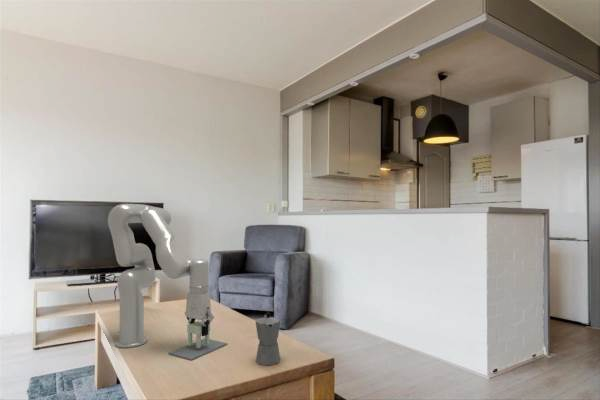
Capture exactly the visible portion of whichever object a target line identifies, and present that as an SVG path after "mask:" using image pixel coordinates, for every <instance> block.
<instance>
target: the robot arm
mask: <svg viewBox="0 0 600 400" xmlns="http://www.w3.org/2000/svg"><path fill="white" fill-rule="evenodd" d="M171 221H172V217H171V213H170V212H169V211H168V210H167V209H165V208H162V207H158V206H151V205H148V204H142V203H141V204H140V203H139V204H138V203H121V204H120V203H119V204H117V205H116V206H114V207H113V208H111V210H110V211H109V213H108V216H107V225H108V228H109V231H110V233H111V239H112V243H113V248H114V254H115V259H116V262H117V264H118V265H119V266H121V267H132V266H134V268H130V269H125V270H124V271H123V272H121V273H120V274H119V276H117V281H116V283H117V284H116V285H117V290H118V293H119V295H118V296H119V329H118V331H119V332H116V333H115V335H116V337H118V339H117V340H115V342H114V343H115V347H118V348H124V349H125V348H135V347H139V346H142V345H144V344H146V343H147V342H148V337H147V336H145V334H144V331H145V330H144V327H145V325H144V324H145V323H144V319H145V318H144V314H145V311H144V310H145V302H144V301H145V300H144V296H143V294H142V291H141V290H142V289H146V288H149V287H151V286H152V285H153V284H154V283H155V281H156V278H157V277H156V269H155V265H154V260H153V254H152V251H151V249H150V248H149V246H148V245H147V244H144V243H141V242H137V243H136V240H135V236H134V235H135V234H134V232H133V230H132V229H131V227H130V226H129V224H141V225H143V228H144V229H145V231H146V232H147V234H148V235H149V238H151V240H152V242H153V243H154V245H155V256H156V261H157V263H158V265H159V267H160V268H161V270H162V272H163V273H164V274H165V276H166V277H168V278H169V279H171V280H176V279H180V278H184V277H188V276H189V287H188V289H189V292H188V293H187V297H186V306H185V312H184V316H185V317H186V319H187V322H188V323H187V324H191V323H194V322H196V320H197V321H202V324H203V326H202V334H201V337H205V336H206V335H208V325H209V324H210V325H211V322H212V321H213V319H214V318H215V317H214V315H213V313H212V312H211V311H212V305H211V296H210V293H209V261H208V260H207V259H204V258H203V259H201V258H198V259H196V258H195V259H194V258H191V257H190V258H189V257H184V258H178V259H177V258H176V257H175V255H174V253H173V252H172V250H171V242H172V241H173V240H174V239H175V233H174V232H173V231H172V229H171V228H170V226H169V225H170V224H171V223H172V222H171Z"/></svg>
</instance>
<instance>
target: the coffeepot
mask: <svg viewBox="0 0 600 400" xmlns="http://www.w3.org/2000/svg"><path fill="white" fill-rule="evenodd" d="M280 326H281V319H279V318H278V317H273V316H272V317H271V312H266V313H264V314H263V317H261V318H257V319H256V321H255V327H256V334H257V339H258V341H259V342H258V344H257V345H258V346H257V351H256V359H255V362H256V364H258V365H260V366H265V367H267V366H268V367H269V366H274V365H277V364H279V363H280V361H281V354H280V348H279V344H278V338H279V333H280V332H279V331H280Z"/></svg>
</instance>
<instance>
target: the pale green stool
mask: <svg viewBox="0 0 600 400" xmlns="http://www.w3.org/2000/svg"><path fill="white" fill-rule="evenodd" d="M186 326H187V345H188V346H191V345H192V343H193V334H194V335H196V339H195V340H196V341H195V342H196V348H200V347H201V340H202V326H203V324H202V321H201V320H197V321H195V322H194V323H191V324H189V323H187V325H186ZM210 331H211V323H210V324H209V325H208V335H206V336H204V339H205V344H209V339H210Z"/></svg>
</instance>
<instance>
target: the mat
mask: <svg viewBox="0 0 600 400" xmlns="http://www.w3.org/2000/svg"><path fill="white" fill-rule="evenodd" d="M226 346H228V343H227V342H224V341H219V340H215V339H210V338H209V344H205V338H203V339H202V338H201V347H200V348H196V341H194V342H192V345H191V346H188V344H186V345H185V346H182V347H179V348H177V349H174V350H171V351H169V352H167V353H168V354H167V355H170V356H173V357H176V358H180V359H184V360H188V361H191V362H192V361H194V360H196V359H199V358H201V357H203V356H205V355H207V354H210V353H212V352H214V351H216V350H219V349H221V348H224V347H226Z"/></svg>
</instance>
